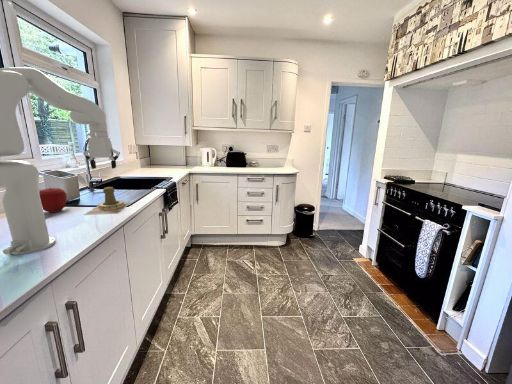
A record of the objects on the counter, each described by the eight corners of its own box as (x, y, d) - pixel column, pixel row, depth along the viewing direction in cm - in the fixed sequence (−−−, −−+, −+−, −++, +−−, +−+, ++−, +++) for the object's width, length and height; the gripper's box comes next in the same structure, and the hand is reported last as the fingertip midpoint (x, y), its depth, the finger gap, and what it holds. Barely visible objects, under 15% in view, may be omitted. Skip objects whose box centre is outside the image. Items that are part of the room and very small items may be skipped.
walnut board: (118, 215, 120) (117, 213, 120) (83, 216, 118) (83, 215, 117) (131, 203, 139) (131, 202, 139) (102, 205, 137) (101, 203, 136)
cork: (111, 208, 127) (108, 188, 125) (102, 207, 128) (99, 188, 126) (120, 205, 133) (117, 186, 130) (111, 204, 134) (108, 185, 131)
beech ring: (119, 209, 126) (118, 205, 126) (94, 210, 124) (93, 206, 124) (127, 202, 138) (126, 199, 137) (104, 203, 136) (104, 200, 135)
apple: (43, 217, 117) (37, 191, 114) (37, 212, 124) (31, 187, 121) (72, 210, 126) (67, 186, 123) (65, 206, 133) (60, 183, 130)
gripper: (76, 135, 116) (82, 169, 120) (114, 135, 119) (118, 169, 123) (84, 135, 123) (89, 167, 127) (120, 135, 126) (124, 167, 130)
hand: (104, 168), depth 125 cm, fingers open, 9 cm apart
